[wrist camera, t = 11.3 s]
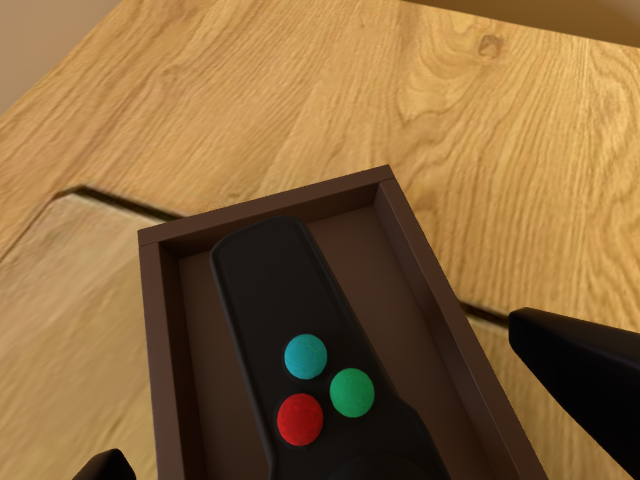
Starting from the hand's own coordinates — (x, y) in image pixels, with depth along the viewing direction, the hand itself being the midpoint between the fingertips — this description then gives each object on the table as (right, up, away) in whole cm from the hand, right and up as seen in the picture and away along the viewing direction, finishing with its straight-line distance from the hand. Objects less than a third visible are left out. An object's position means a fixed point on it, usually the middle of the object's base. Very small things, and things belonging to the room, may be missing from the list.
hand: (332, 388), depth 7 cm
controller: (0, -4, +9) cm, 10 cm away
